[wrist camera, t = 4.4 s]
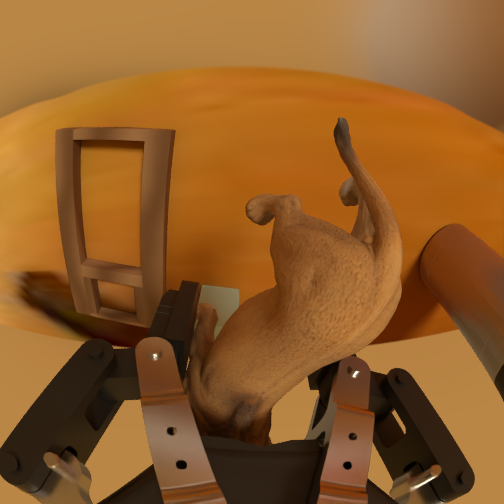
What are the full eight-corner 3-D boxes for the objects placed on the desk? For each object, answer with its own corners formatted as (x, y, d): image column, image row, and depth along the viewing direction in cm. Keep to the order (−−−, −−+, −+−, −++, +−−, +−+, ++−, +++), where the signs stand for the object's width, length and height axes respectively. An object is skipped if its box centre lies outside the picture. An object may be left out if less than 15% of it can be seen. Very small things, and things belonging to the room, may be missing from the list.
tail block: (239, 289, 30) (238, 328, 25) (234, 316, 32) (232, 355, 27) (202, 284, 29) (194, 322, 24) (199, 311, 31) (193, 350, 26)
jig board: (175, 130, 22) (171, 131, 20) (166, 322, 32) (163, 330, 31) (64, 128, 20) (55, 130, 19) (81, 304, 31) (76, 312, 29)
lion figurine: (257, 370, 17) (268, 504, 9) (175, 352, 15) (155, 495, 8) (386, 144, 10) (574, 253, 2) (270, 87, 9) (416, 21, 1)
